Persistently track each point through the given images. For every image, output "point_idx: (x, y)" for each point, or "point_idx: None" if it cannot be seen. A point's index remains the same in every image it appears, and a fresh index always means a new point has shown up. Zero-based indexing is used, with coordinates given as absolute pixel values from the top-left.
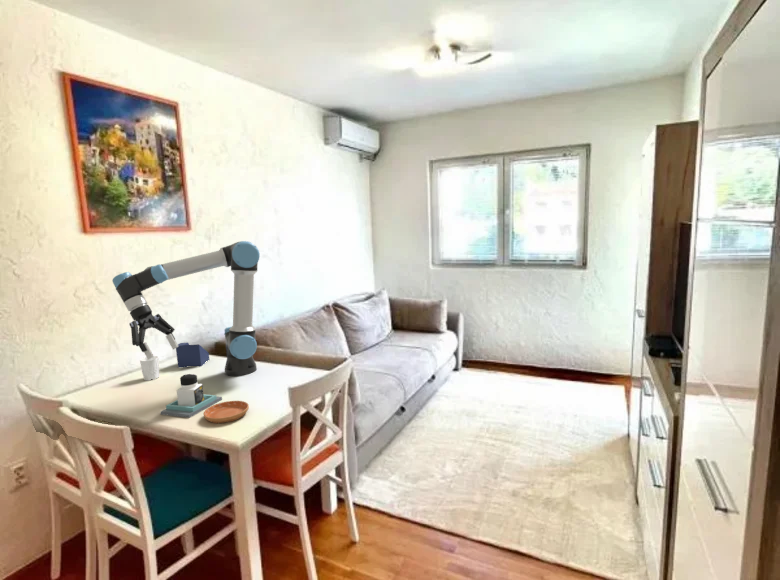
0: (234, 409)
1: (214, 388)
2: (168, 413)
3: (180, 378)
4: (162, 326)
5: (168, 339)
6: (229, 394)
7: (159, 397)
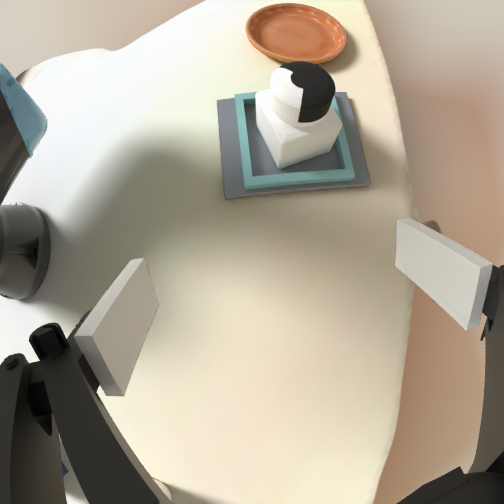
0: (271, 35)
1: (143, 202)
2: (362, 155)
3: (333, 95)
4: (87, 450)
5: (130, 354)
6: (178, 116)
7: (268, 327)
